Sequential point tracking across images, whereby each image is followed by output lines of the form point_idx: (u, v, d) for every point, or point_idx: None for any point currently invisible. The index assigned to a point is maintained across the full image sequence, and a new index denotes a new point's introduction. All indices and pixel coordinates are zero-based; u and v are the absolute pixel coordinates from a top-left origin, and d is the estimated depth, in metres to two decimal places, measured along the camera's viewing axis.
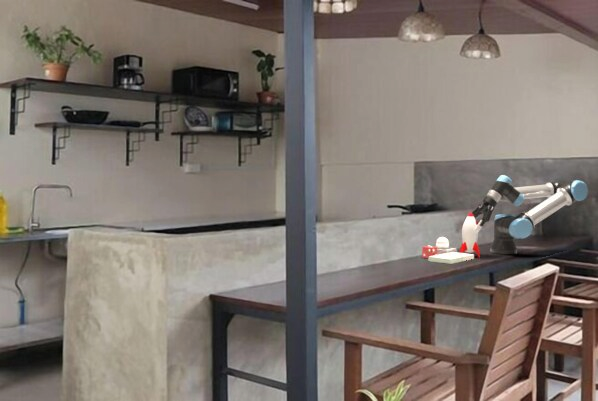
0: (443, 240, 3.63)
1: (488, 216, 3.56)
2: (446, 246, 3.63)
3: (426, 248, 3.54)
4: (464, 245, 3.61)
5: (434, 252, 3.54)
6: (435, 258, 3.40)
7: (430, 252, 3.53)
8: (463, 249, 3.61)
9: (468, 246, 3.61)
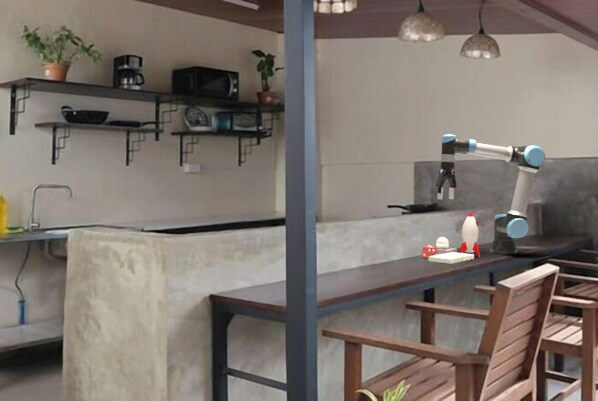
0: (443, 240, 3.63)
1: (438, 181, 3.58)
2: (446, 246, 3.63)
3: (426, 248, 3.54)
4: (464, 245, 3.61)
5: (434, 252, 3.54)
6: (435, 258, 3.40)
7: (430, 252, 3.53)
8: (463, 249, 3.61)
9: (468, 246, 3.61)
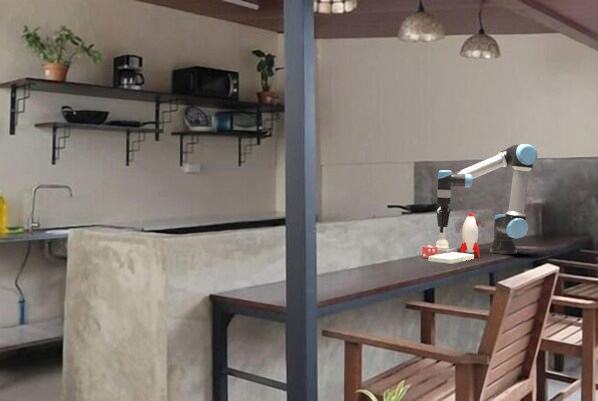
0: (443, 242, 3.63)
1: (439, 221, 3.63)
2: (446, 248, 3.63)
3: (426, 248, 3.54)
4: (464, 245, 3.61)
5: (434, 252, 3.54)
6: (435, 258, 3.40)
7: (430, 252, 3.53)
8: (463, 249, 3.61)
9: (468, 246, 3.61)
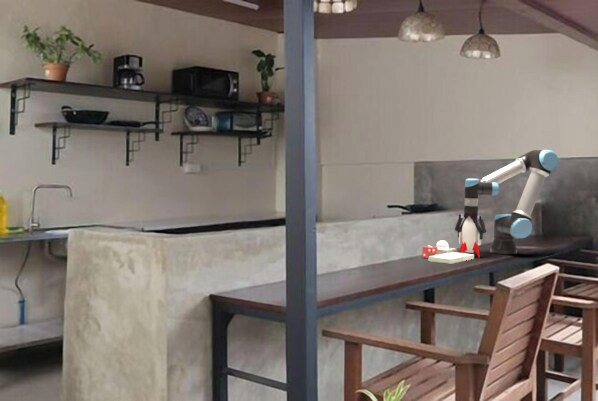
0: (443, 243, 3.63)
1: (484, 228, 3.58)
2: None
3: (426, 248, 3.54)
4: (464, 245, 3.61)
5: (434, 252, 3.54)
6: (435, 258, 3.40)
7: (430, 252, 3.53)
8: (463, 249, 3.61)
9: (468, 246, 3.61)
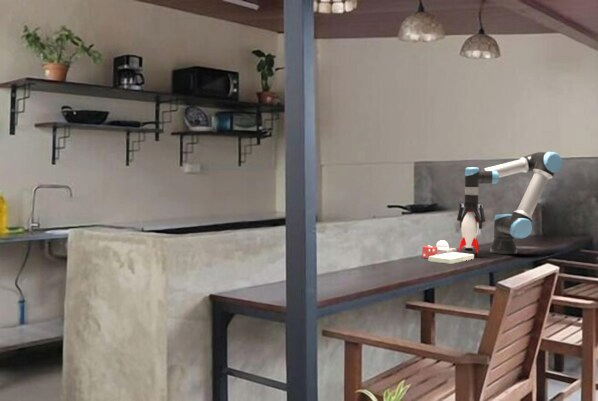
0: (443, 243, 3.63)
1: (483, 217, 3.58)
2: None
3: (426, 248, 3.54)
4: (463, 240, 3.62)
5: (434, 252, 3.54)
6: (435, 258, 3.40)
7: (430, 252, 3.53)
8: (462, 244, 3.62)
9: (467, 241, 3.62)
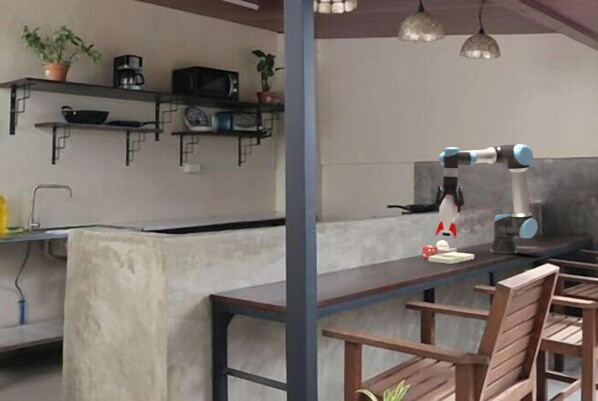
0: (443, 243, 3.63)
1: (462, 200, 3.38)
2: None
3: (426, 248, 3.54)
4: (440, 224, 3.43)
5: (434, 252, 3.54)
6: (435, 258, 3.40)
7: (430, 252, 3.53)
8: (439, 229, 3.43)
9: (444, 226, 3.43)
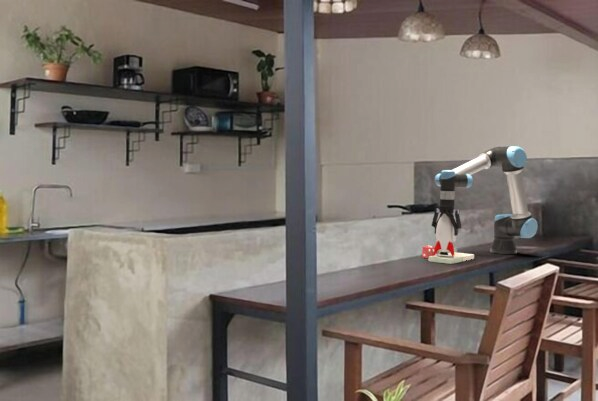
0: None
1: (459, 223, 3.37)
2: None
3: (426, 248, 3.54)
4: (438, 244, 3.41)
5: None
6: (435, 258, 3.40)
7: (430, 252, 3.53)
8: (436, 248, 3.41)
9: (442, 245, 3.41)
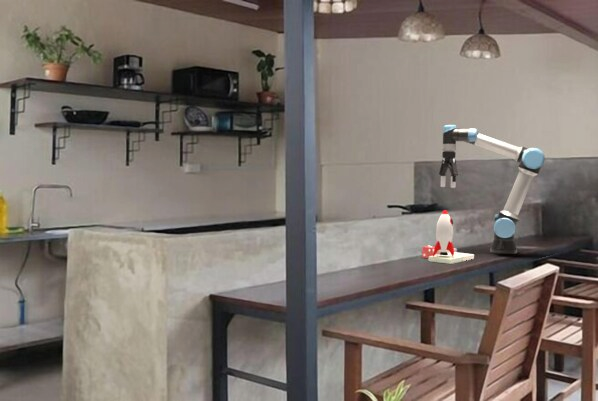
0: None
1: (455, 170, 3.70)
2: None
3: (426, 248, 3.54)
4: (437, 244, 3.41)
5: None
6: (435, 258, 3.40)
7: (430, 252, 3.53)
8: (436, 248, 3.41)
9: (442, 245, 3.41)
